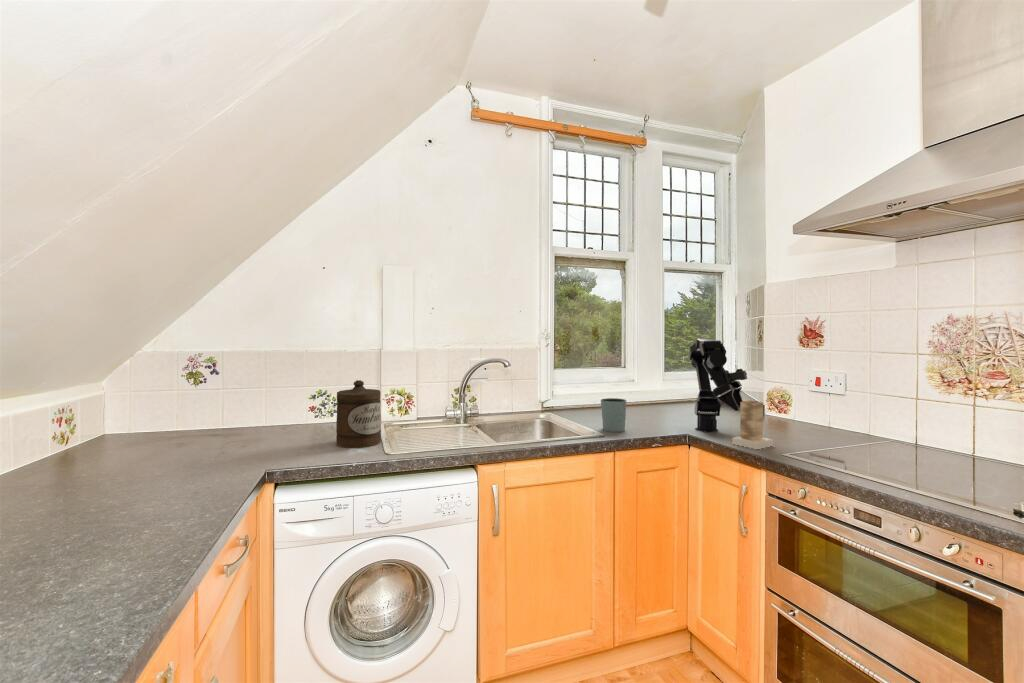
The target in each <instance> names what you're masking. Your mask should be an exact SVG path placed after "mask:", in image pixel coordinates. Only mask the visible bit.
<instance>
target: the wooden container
mask: <svg viewBox="0 0 1024 683" xmlns="http://www.w3.org/2000/svg"><path fill="white" fill-rule="evenodd" d="M364 384H365V383H364V381H363V380H361V379H359V380H355V381H354V382H353V388H351V389H344V390H339V391H337V392H336V422H335V423H336V427H335V428H336V441H335V442H336V445H337V446H338V447H341V448H347V449H356V448H357V449H359V448H367V447H372V446H376V445H378V444H380V443H381V442H382V441H381V440H382V415H381V414H382V413H381V412H382V411H381V410H382V409H381V408H382V407H381V406H382V405H381V390H379V389H375V388H374V389H373V388H366V387H365V386H364Z"/></svg>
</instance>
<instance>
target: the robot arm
mask: <svg viewBox="0 0 1024 683" xmlns="http://www.w3.org/2000/svg"><path fill="white" fill-rule="evenodd" d="M726 355H727V350H726V347H725V346H724V344H723V342H722V341H721V340H720V339H719V340H718V339H717V340H716V339H715V340H714V339H709V338H696V339H695V343H693V344H692V345H691V346H689V350H688V360H689V361H690V364H691V366H692V367H693V368H695V371H696V372H695V373H696V376H697V378H696V379H697V383H698V389H699V390H698V391H699V392H698V395H697V400H695V404H694V414H695V415H696V416H697V420H696V421H697V424H696V426H697V427H694V430H695V429H696V431H700V432H704V431H705V432H706V433H711V432H712V433H713V432H718V431H719V429H718V427H717V422H718V420H717V417H720V416H721V409H722V408H721V407H722V403H720V401H721V402H723V403H724V404H726V405H727V406H728V407H730V409H733V410H734V411H736V412H737V411H740V409H739V408H740V403H741V402H743V401H744V399H743V398H742V395H741V391H742V387H743V384H742V383H741V381H744V380H748V376H747V375H748V373H747V372H746V370H743V368H738V369H737V368H736V371H734V372H730V371H729V370H728V369H725V368H724V366H725V365H726V364H727V361H728V360H727V359H728V357H727V356H726ZM711 381H712V382H713V383H714V385H715V386H716V387H715V388H713V389H712V385H711Z"/></svg>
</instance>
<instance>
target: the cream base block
mask: <svg viewBox="0 0 1024 683" xmlns="http://www.w3.org/2000/svg"><path fill="white" fill-rule="evenodd" d="M773 442H774V440H773V438H767V437H763V438H761V439H758V440H754V441H753V440H749V439H745V438H742V437H740V436H735V437H732V445H733V444H735V445H734V446H737V445H739V447H742V446H744V447H743V448H746V447H749V448H748V449H751V448H754V449H753V450H755V449H760V450H762V449H761V448H764V449H766V448H765V447H769V448H771V447H770V446H773V445H774V444H773Z"/></svg>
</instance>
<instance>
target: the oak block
mask: <svg viewBox="0 0 1024 683" xmlns="http://www.w3.org/2000/svg"><path fill="white" fill-rule="evenodd" d="M739 408H740V409H739V411H740V416H739V417H740V418H739V419H740V421H739V423H740V424H739V427H740V428H739V429H740V430H739V431H740V433H739V435H740V437H742V438H745V439H749V440H753V441H754V440H758V439H761V438H764V436H763V435H764V434H763V432H764V431H763V430H764V427H763V426H764V402H761V401H757V400H752V399H748V400H743V402H741V403H740V406H739Z"/></svg>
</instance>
